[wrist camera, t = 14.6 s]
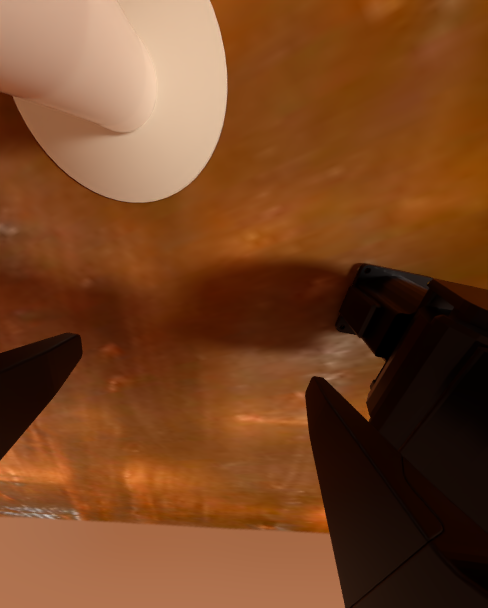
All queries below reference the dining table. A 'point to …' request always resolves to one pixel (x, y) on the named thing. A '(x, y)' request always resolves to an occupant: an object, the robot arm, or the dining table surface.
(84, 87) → the drinking glass
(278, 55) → the dining table surface
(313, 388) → the robot arm
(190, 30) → the cream flat disc
